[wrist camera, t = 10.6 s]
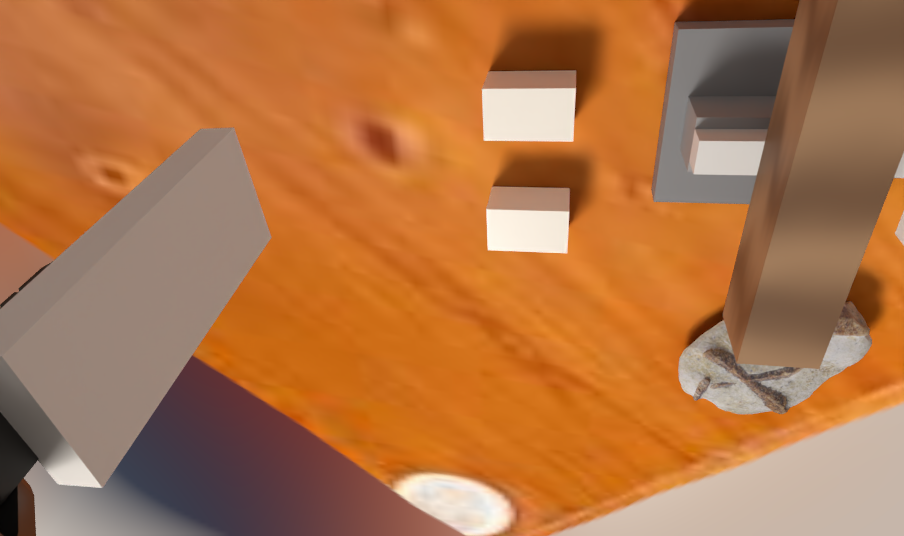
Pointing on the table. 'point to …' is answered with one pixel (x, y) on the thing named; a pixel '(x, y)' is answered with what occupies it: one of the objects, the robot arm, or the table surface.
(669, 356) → the table surface
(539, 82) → the blocks
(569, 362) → the table surface
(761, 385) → the stone
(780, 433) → the table surface
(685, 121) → the fulcrum
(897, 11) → the bar
